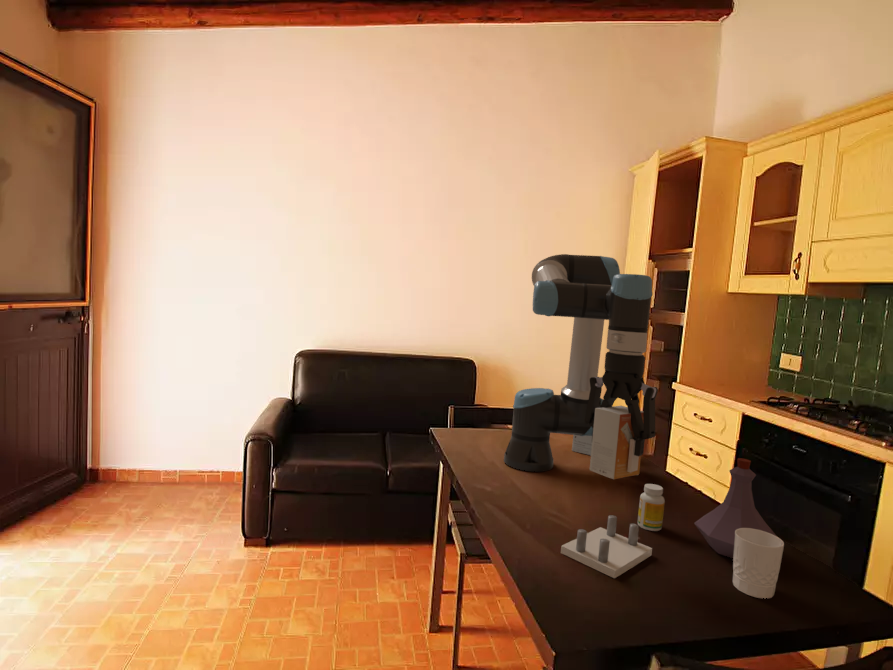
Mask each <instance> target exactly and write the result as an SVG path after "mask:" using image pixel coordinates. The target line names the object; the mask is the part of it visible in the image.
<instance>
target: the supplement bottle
mask: <svg viewBox="0 0 893 670" xmlns="http://www.w3.org/2000/svg"><path fill="white" fill-rule="evenodd" d="M643 491H644V492H642V493H641V494H640V496H639V504H638V512H637V513H638V514H637V525H639V528H641V529H643V530H645V531H650V532H651V531H652V532H658V531H660V530H662V528H663V527H662V526H663V518H664V512H665V511H664V510H665V503H666V501H665V497H664V496H663V493H664V488H663V487H662V486H661V485H659V484H655V483H654V484H653V483H645V484H644V487H643Z"/></svg>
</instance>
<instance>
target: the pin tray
mask: <svg viewBox="0 0 893 670" xmlns="http://www.w3.org/2000/svg"><path fill="white" fill-rule="evenodd" d="M617 521H618V517H617V516H616V515H612V514H610V515H608V516H607V525H606V528H604V527H601V526H600V527H598V528H596V529H594V530H591V531H589V532H588V531H587V530H586V529H583V528H579V529H577V534H576V535H577V536H576V538H575V539H572V540H570V541H569V542H566V543H564V544H562V545H561V548H560V554H562V555H564V556H566V557H568V558H570V559H573V560H574V561H576V562H579V563H581V564H583V565H585V566H587V567H590V568H591V569H594V570H596V571H598V572H600V573H602V574H605V575H606V576H609V577H610V578H611V579H612V578H613V579H616V578H617V577H620V576H621V575H622V574H624V573H626V572H627V571H628V570H630V569H633V568H634V567H636V566H637V565H639V564H640V563H641V562H643V561H645V560H646V559H648V558H649V557H651V556H652V553H653V547H650V546H648V545H645V544H643V543H641V542H638V541H639V539H638V538H639V530H640V526H639V525H638V523H637V524H636V523H629V529H628V530H629V532H628V537H626V536H623V535H621V534H618V533H616V531H617Z"/></svg>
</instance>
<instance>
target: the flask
mask: <svg viewBox="0 0 893 670" xmlns="http://www.w3.org/2000/svg"><path fill="white" fill-rule="evenodd" d="M736 461H737V463H736V464H737V466H735V467H733V468H731V469H729V470H728V471H729V473H730V475H731V478H732V479H731V482H730V486H729V488H728V491H727V492H726V495H725V498H724V500H723V502H722V503H720V504H719V505H717V506H716V507H715V508H714V509H713V510H712V509H711V511H709V512H708V513H706V514H704V515H703V516H701V517H700V518H699V519H697V520H695V522H694V525H695V527H696V528H697V530H698V531H699V532H700V534H701V535H702V537H703V538H704V540H705V541H706V543H707V544H708V545H709V547H711V548H712V550H714V551H715V552H716V553H717V554H719V555H722V556H724V557H726V556H727V557H728V558H729V557H730V559H732V558H733V555H734V540H735V530H736V529H739V528H752V529H757V530H761V531H765V532H768V533H770V534H773V535H775V536H777V535H776V533H775V532H774V531H773V529H772V528H771V527H770V526H769V525H768V524H767V523H766V521H765V520H764V519H763V517H762V516H761V514H760V513H759V511H758V510H757V509H756V506H755V501H754V500H755V499H754V494H753V490H752V484H753V483H752V481H753V480H754V479H755V477H756V476H757V474H756V473H755V472H753V471H752V470H751V469H750V466H751V464H752V460H750V459H748V458H742V457H738V458H737V459H736ZM727 557H726V558H727Z"/></svg>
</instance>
